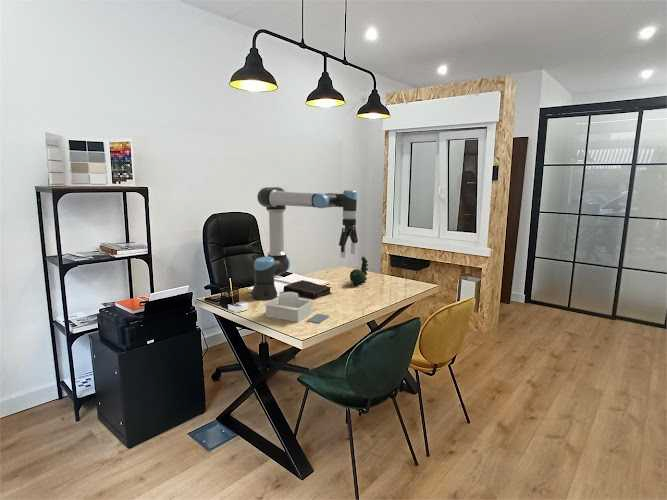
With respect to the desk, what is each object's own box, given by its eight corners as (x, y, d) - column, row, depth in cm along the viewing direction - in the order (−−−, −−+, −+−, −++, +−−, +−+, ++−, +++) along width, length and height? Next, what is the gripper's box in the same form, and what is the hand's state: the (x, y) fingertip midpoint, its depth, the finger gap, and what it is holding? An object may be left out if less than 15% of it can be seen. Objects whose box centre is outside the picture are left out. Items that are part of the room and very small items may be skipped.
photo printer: (278, 316, 203) (278, 293, 201) (279, 313, 207) (279, 291, 205) (298, 316, 204) (299, 293, 202) (298, 313, 208) (299, 290, 206)
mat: (306, 321, 197) (306, 320, 197) (317, 314, 208) (317, 313, 207) (319, 323, 194) (319, 322, 194) (329, 316, 205) (329, 315, 205)
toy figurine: (357, 281, 285) (345, 286, 262) (359, 255, 284) (347, 258, 261) (370, 283, 282) (359, 288, 259) (372, 256, 280) (360, 259, 257)
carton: (263, 317, 201) (263, 304, 199) (282, 307, 218) (282, 295, 217) (295, 323, 193) (295, 310, 192) (313, 312, 210) (313, 299, 209)
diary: (313, 301, 233) (313, 292, 232) (283, 293, 248) (283, 285, 247) (333, 294, 248) (333, 286, 247) (303, 287, 262) (303, 279, 262)
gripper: (346, 220, 208) (344, 260, 211) (364, 217, 230) (362, 253, 233) (333, 219, 211) (332, 258, 215) (352, 216, 233) (351, 251, 237)
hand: (348, 255), depth 224 cm, fingers open, 13 cm apart
